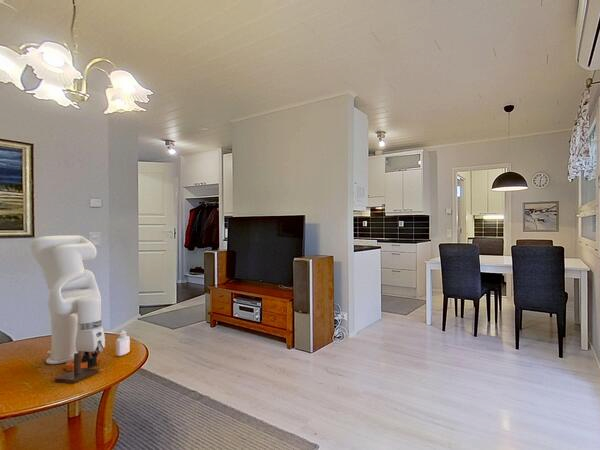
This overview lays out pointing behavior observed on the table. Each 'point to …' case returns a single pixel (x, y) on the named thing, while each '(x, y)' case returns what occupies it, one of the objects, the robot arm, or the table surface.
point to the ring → (70, 365)
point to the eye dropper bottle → (122, 344)
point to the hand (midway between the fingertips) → (89, 365)
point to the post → (77, 372)
